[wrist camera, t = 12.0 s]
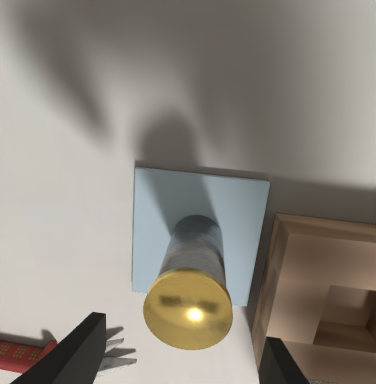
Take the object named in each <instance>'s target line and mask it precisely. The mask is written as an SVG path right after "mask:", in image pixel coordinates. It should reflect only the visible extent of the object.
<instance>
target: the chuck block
mask: <svg viewBox="0 0 376 384" xmlns="http://www.w3.org/2000/svg"><path fill="white" fill-rule="evenodd" d="M266 336H268V337H275V338H281V340H282V341H283V343H284V344H285V346H286V348H287V349H288V351H289V352H290V354H291V356H292V357H293V359H294V360H295V362H296V363H297V365H298V367H299V368H300V370H301V371H302V373H303V374H304V376H305V377H306V379H309V380H316V381H322V382H329V383H336V384H376V224H368V223H359V222H351V221H342V220H333V219H324V218H315V217H306V216H297V215H288V214H279V213H276V214H275V219H274V224H273V229H272V234H271V239H270V244H269V249H268V253H267V258H266V263H265V268H264V273H263V278H262V283H261V288H260V293H259V297H258V302H257V307H256V312H255V317H254V322H253V327H252V332H251V338H252V343H253V349H254V354H255V360H256V365H257V371H258V370H259V365H260V361H261V357H262V352H263V348H264V343H265V339H266Z"/></svg>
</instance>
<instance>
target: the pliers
mask: <svg viewBox="0 0 376 384" xmlns="http://www.w3.org/2000/svg"><path fill="white" fill-rule="evenodd" d="M123 341H124V338H123V339H117V340H110V341H106V351H105V353H106V352H107V351H109V350H111V349H112V348H114V347H116V346H117V345H119V344H121V343H122V342H123ZM56 345H57V341H52V340H51V341H50V342H49V343H48V345H47V346H46V347H45V349H44V348H39V347H33V346H28V345H22V344H17V343H11V342H6V341H0V369H2V370H7V371H12V372H17V373H24V372H26V371H27V370H28V369H29V368H31V367H32V366H33V365H34V364H35V363H37V362H38V361H39V360H40V359H41V358H43V357H44V356H45V355H46V354H47V353H49V352H50V351H51V350H52V349H53V348H54V347H55V346H56ZM136 361H137V359H129V358H113V357H103V359H102V362H101V365H100V368H99V370H98V373H97V375H96V377H99V376H102V375H104V374H107V373H110V372H113V371H115V370H118V369H121V368H123V367H126V366H129V365H132V364H134V363H136ZM96 377H95V378H96Z"/></svg>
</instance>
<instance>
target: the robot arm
mask: <svg viewBox="0 0 376 384" xmlns="http://www.w3.org/2000/svg"><path fill="white" fill-rule="evenodd" d="M105 351H106V314H104V313H97V312H92V313H91V314H90V315H89V316H88V317H87V318H85V319H84V320H83V321H82V322H81V323H80V324H79V325H78V326H77V327H76V328H75V329H74V330H73V331H72V332H71V333H70V334H69V335H68V336H66V337H65V338H64V339H63V340H62V341H61V342H60V343H59V344H58V345H56V346H55V347H54V348H53V349H52V350H51V351H50V352H49V353H47V354H46V355H45V356H44V357H43V358H41V359H40V360H39V361H38V362H37V363H35V364H34V365H33V366H32V367H31V368H29V369H28V370H27V371H26V372H24V373H23V374H22V375H21V376H19V377H18V378H17V379H15V380H14V381H13V382H11V383H10V384H93V382H94V380H95V377H96V375H97V373H98V370H99V368H100V365H101V362H102V359H103V356H104V354H105ZM258 374H259V383H260V384H310V383H309V382H308V380H307V379H306V377H305V376H304V374H303V373H302V371H301V370H300V368H299V367H298V365H297V363H296V362H295V360H294V359H293V357H292V356H291V354H290V352H289V351H288V349H287V348H286V346H285V344H284V343H283V341H282V340H281V338H275V337H268V336H266V339H265V343H264V348H263V352H262V357H261V361H260V365H259V370H258Z"/></svg>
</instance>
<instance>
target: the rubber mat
mask: <svg viewBox="0 0 376 384" xmlns="http://www.w3.org/2000/svg"><path fill="white" fill-rule="evenodd" d="M269 187H270V182H269V181H267V180H258V179H248V178H239V177H229V176H219V175H210V174H200V173H191V172H181V171H171V170H162V169H152V168H143V167H137V168H135V192H134V232H133V273H132V291H133V292H141V293H148V291H149V288H150V286H151V284H152V283H153V282H154V280H155V279H156V278H157V277H158V274H159V271H160V268H161V265H162V262H163V259H164V256H165V253H166V251H167V248H168V245H169V242H170V239H171V236H172V233H173V230H174V228H175V226H176V224H177V223H178V222H179V221H180V220H181V219H183V218H185V217H187V216H191V215H202V216H206V217H208V218H210V219H212V220H213V221H215V222H216V223H217V224H218V226H219V227H220V229H221V232H222V236H223V249H224V262H225V276H226V288H227V290H228V292H229V294H230V297H231V302H232V305H238V306H245V307H247V303H248V298H249V292H250V287H251V282H252V277H253V271H254V266H255V261H256V256H257V250H258V245H259V240H260V235H261V229H262V224H263V219H264V214H265V208H266V203H267V198H268V193H269Z"/></svg>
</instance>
